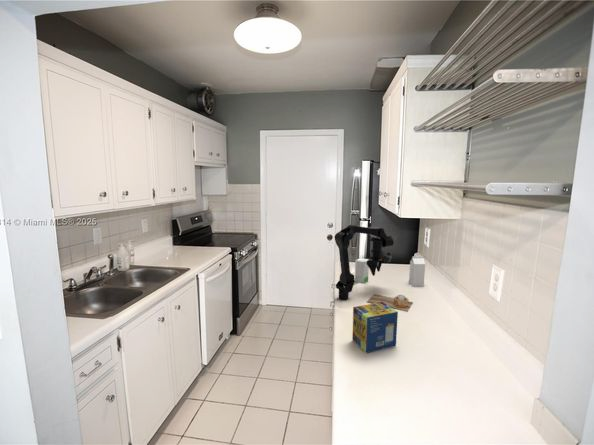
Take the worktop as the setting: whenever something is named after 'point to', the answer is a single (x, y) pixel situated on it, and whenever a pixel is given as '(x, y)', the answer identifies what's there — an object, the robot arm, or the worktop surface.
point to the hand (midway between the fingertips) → (376, 273)
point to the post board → (389, 301)
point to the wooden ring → (401, 302)
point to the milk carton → (417, 271)
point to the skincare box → (361, 271)
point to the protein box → (374, 326)
